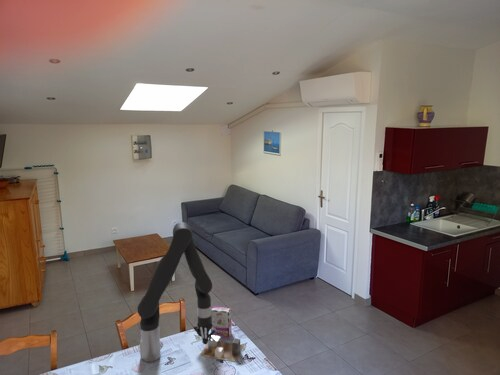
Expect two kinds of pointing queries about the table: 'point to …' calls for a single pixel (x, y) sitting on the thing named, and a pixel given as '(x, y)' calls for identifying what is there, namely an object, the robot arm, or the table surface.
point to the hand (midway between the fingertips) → (205, 343)
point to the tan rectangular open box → (226, 351)
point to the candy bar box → (221, 321)
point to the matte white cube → (219, 352)
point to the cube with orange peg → (213, 343)
